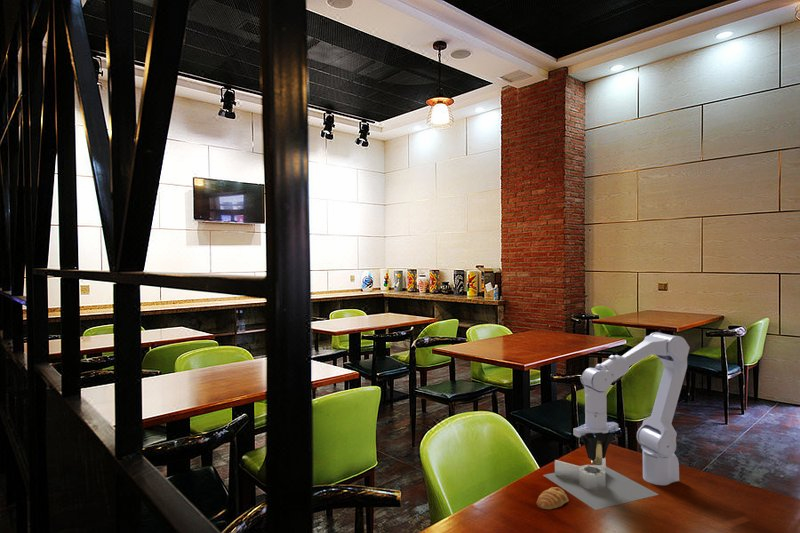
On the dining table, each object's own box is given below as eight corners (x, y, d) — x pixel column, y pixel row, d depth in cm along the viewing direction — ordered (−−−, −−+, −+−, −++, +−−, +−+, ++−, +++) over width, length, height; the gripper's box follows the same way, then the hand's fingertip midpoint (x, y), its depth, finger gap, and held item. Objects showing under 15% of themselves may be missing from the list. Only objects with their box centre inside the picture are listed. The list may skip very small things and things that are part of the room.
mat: (600, 466, 152) (600, 463, 152) (658, 498, 131) (658, 494, 131) (542, 478, 144) (542, 475, 144) (595, 513, 124) (595, 509, 124)
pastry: (552, 517, 123) (552, 502, 123) (529, 508, 128) (529, 493, 128) (570, 504, 129) (570, 490, 129) (548, 495, 134) (547, 482, 134)
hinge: (595, 466, 149) (594, 452, 149) (628, 484, 137) (627, 469, 137) (554, 474, 144) (553, 460, 144) (584, 494, 132) (584, 478, 132)
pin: (596, 460, 138) (596, 439, 138) (604, 464, 135) (604, 443, 135) (588, 461, 137) (588, 441, 137) (596, 465, 134) (596, 444, 134)
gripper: (585, 418, 130) (586, 467, 130) (626, 411, 135) (626, 459, 135) (568, 410, 136) (568, 457, 136) (607, 404, 141) (608, 450, 142)
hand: (596, 458), depth 136 cm, fingers closed on pin, 3 cm apart
